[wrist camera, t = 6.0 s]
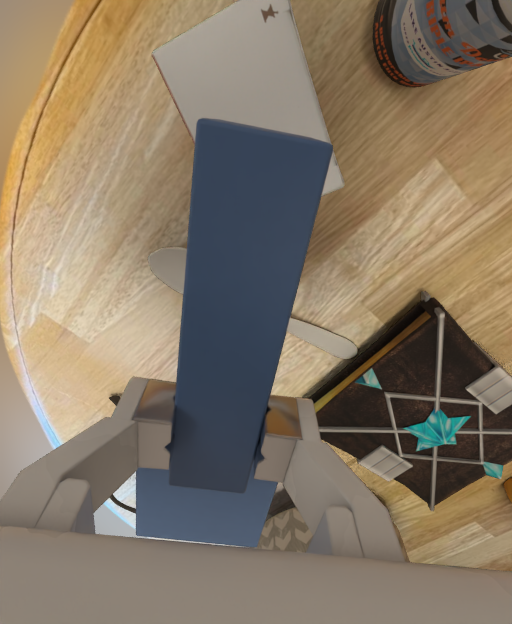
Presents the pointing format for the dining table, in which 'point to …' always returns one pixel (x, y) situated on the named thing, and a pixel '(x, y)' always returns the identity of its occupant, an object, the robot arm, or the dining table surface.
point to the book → (422, 406)
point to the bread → (508, 488)
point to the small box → (246, 74)
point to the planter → (295, 533)
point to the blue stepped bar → (232, 327)
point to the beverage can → (440, 37)
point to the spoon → (172, 273)
